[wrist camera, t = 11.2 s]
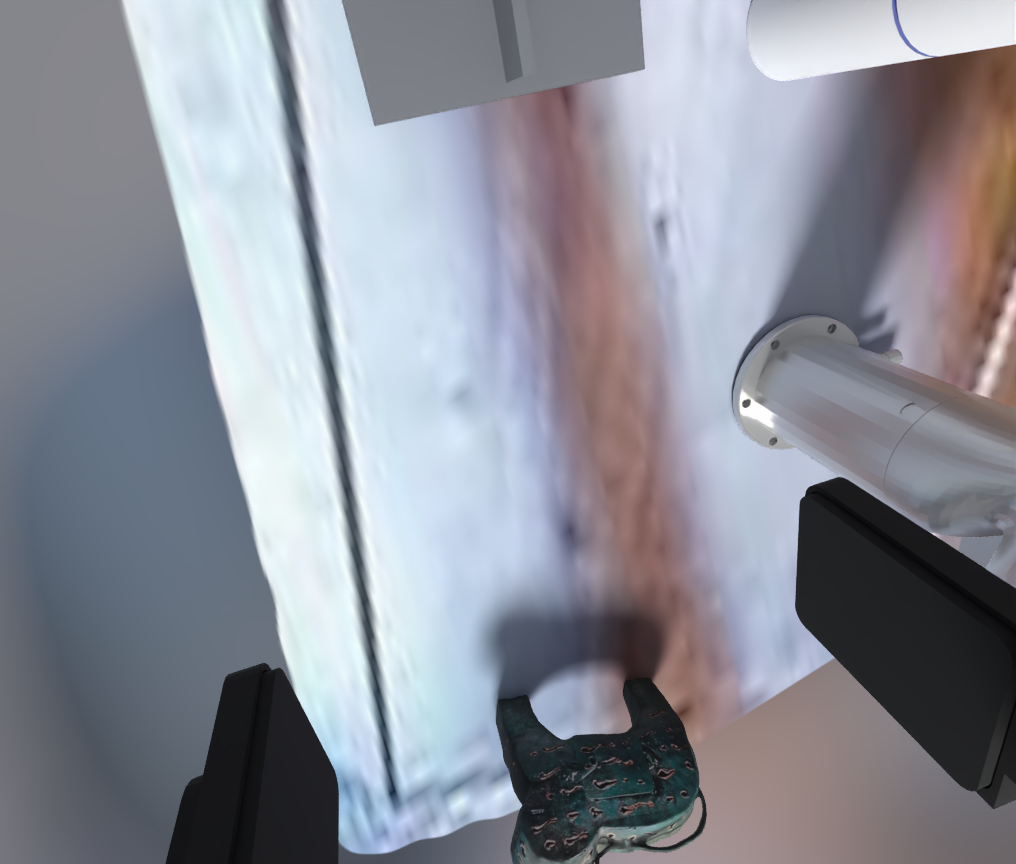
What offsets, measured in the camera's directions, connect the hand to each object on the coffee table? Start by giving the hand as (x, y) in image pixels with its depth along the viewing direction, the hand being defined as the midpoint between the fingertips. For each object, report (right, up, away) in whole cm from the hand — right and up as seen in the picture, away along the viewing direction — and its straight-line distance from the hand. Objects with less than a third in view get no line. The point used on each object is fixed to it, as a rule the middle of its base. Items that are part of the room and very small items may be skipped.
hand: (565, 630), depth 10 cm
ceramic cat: (+6, -25, +55) cm, 61 cm away
